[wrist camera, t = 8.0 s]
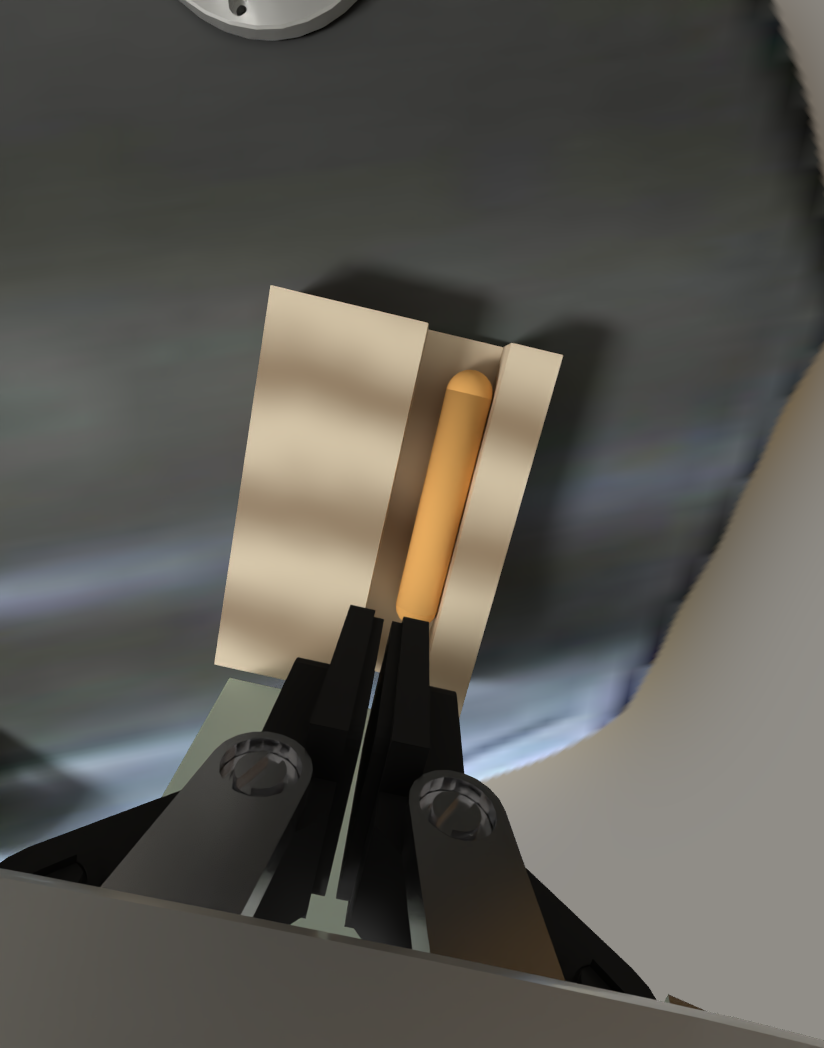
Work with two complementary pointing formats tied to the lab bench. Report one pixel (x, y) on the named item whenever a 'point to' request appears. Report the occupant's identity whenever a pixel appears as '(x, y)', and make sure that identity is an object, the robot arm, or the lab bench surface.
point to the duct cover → (248, 712)
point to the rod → (444, 494)
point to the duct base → (368, 483)
